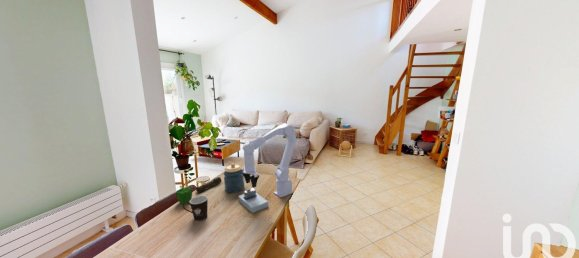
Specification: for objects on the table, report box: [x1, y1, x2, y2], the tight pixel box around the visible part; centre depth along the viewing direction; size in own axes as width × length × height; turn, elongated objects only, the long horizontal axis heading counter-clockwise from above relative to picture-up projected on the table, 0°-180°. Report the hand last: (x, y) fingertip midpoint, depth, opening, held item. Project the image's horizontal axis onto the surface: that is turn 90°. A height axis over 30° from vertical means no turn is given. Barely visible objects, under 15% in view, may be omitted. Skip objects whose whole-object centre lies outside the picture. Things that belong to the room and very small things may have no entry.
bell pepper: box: [175, 185, 193, 205], centre depth 126 cm, size 8×8×10 cm
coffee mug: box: [182, 194, 209, 222], centre depth 110 cm, size 12×9×10 cm
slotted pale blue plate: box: [238, 192, 269, 214], centre depth 122 cm, size 10×17×3 cm, turn 38°
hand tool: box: [195, 176, 222, 194], centre depth 145 cm, size 19×4×5 cm, turn 144°
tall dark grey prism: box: [243, 187, 257, 200], centre depth 124 cm, size 6×3×7 cm, turn 128°
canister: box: [222, 162, 245, 193], centre depth 141 cm, size 13×13×18 cm
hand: (251, 184), depth 125 cm, fingers open, 7 cm apart
